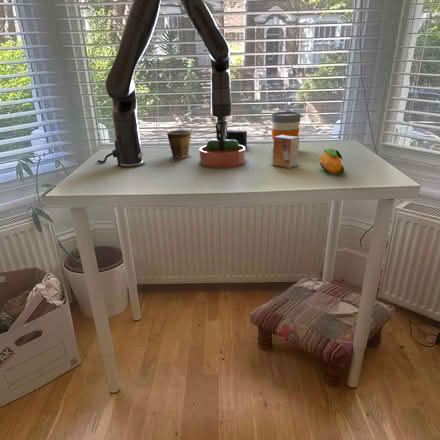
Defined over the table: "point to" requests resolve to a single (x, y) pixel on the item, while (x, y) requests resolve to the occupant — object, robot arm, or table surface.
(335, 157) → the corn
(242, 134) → the digital camera
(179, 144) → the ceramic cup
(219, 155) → the bowl
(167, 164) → the table surface
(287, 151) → the small box
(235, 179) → the table surface
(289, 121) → the reusable coffee cup
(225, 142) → the cucumber
